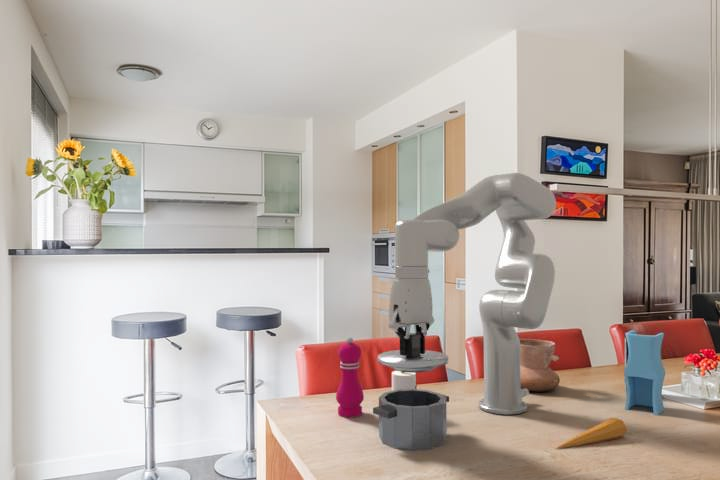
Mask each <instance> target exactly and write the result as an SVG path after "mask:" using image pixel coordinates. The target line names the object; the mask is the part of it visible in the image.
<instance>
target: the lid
mask: <svg viewBox="0 0 720 480" xmlns="http://www.w3.org/2000/svg"><path fill="white" fill-rule="evenodd" d="M409 338H410V339H411V345H412V355H411V356H410V357H407V356H403V355H400V349H398V350H397V349H396V350H395V349H394V350H389V351H384V352H381V353H379V354H378V355H377V363H379V364H380V365H383V366H384V367H385V366H386V367H389V368H391V370H393V371H401V372H411V373H416V374H417V373H427V372H431V371H434V370H435V369H436V368H439V367H442V366H443V367H444V366H446V365H447V364H449V355H448V354H445V353H443V352H440V351H434V350H427V349H425V354H421V334H418V333H415V332H413V333H412V332H410V336H409Z"/></svg>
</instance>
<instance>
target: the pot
mask: <svg viewBox="0 0 720 480" xmlns="http://www.w3.org/2000/svg"><path fill="white" fill-rule="evenodd" d="M449 402H450V396H449V395H445V394H442V393H439V392H436V391H432V390H426V389H417V388H416V389H403V390H394V391H392V390H390V391H386V392H383V393H382V394H381V395H379V396H378V406H375V407H372V413H373V414H374V415H377V416H378V437H379V439H380V440H381V442H382V444H384V445H387V446H389V447H392V448H394V449H399V450H407V451H421V450H422V451H425V450H432V449H435V448H437V447H441V446H443V445H444V444H445V442H446V441H447V438H448V437H447V435H448V434H447V433H448V431H447V427H448V425H447V403H449Z"/></svg>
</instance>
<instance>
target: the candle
mask: <svg viewBox="0 0 720 480" xmlns="http://www.w3.org/2000/svg"><path fill="white" fill-rule="evenodd" d="M416 374H417V373H411V372H401V371H396V370H393V371H391V391H394V390H403V389H417V388H418V387H417V386H418V384H416V383H417V381H416V380H417V379H416V378H417V376H416Z"/></svg>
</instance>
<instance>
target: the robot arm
mask: <svg viewBox="0 0 720 480" xmlns="http://www.w3.org/2000/svg"><path fill="white" fill-rule="evenodd" d="M556 201H557V200H556V197H555V195H554V193H553V191H551V189H550V188H549V187H547V186H546V185H544V184H543V183H540V182H539V181H538V180H535V179H534V178H533V177H531V176H528V175H526V174H523V173H519V172H512V173H511V172H510V173H505V174H503V173H502V174H495V175H490V176H487V177H485V178H483V179H482V180H480V181H478V182H477V183H476V184H474V185H472V186H471V187H469V189H467V190H466V191H464V192H463V193H461V194H460V195H459V196H456V197H453V198H451V199H448V200H447V201H445V202H442V203H441V204H438V205H435V206H433V207H431V208H429V209H427V210H424V211H423V212H421V213H420V214H418V215H416V217H414V218H412V219H404V220H399V221H397V222H396V223H395V224H394V225H395V226H394V252H395V253H394V256H395V257H394V261H395V262H394V265H395V267H394V268H395V269H394V271H395V272H394V273H395V274H394V277H395V279H394V280H392V283H391V288H390V294H389V295H390V296H389V304H388V305H389V308H388V309H389V310H388V313H389V314H388V319H389V320H388V321H389V323H388V328H389V329H391V330H392V331H394V332H395V334H396V337H397V338H399V350H400V355H403V356H407V357H410V356H411V355H412V345H411V339H410V338H409V336H410V333H411V325H413V326H414V333H418V334H421V354H425V350H426V336H427V335H428V330H429V329H430V327H431V326H432V325H433V324H434V322H435V319H434V316H433V295H432V294H433V293H432V287H431V283H430V282H431V281H430V279H429V273H430V269H429V252H432V253H433V252H439V253H440V252H448V251H450V250H452V249H454V247H456V246H457V245H458V243H459V240H460V231H459V230H463V229H467V228H470V227H473V226H476V225H478V224H480V223H481V222H482V221H484V220H485V219H486V218H487V217H488V216H490V215H491V214H492V213H494V212H496V215H497V218H498V220H499V222H500V225H501V227H502V232H503V241H502V244H501V247H500V251H499V256H498V257H497V258H498V259H497V263H496V267H495V271H494V279H495V281H496V283H497V284H498V285H500V286H501V287H503V288H510V289H511V290H509V289H491V290H488V291H487V292H485V293H484V294H483V295H482V296H481V297H480V300H479V304H478V305H479V306H478V307H479V315H480V319H481V325H482V334H483V391H484V392H483V397H484V398H482V399H479V401H478V408H479V409H480V410H482V411H484V412H487V413H490V414H491V413H492V414H495V415H496V414H497V415H519V414H523V413H525V412H526V411H527V410H528V405H527V403H526V402H524V401H523V398H524V397H526V396H529V394H530V391H529V390H528V389H526V388H525V389H521V374H520V340H519V339H520V337H519V335H518V333H517V331H516V329H517V328H519V329H525V330H535V329H537V328H539V327H541V326H542V324H543V323H544V321H545V318H546V314H547V311H548V307H549V303H550V299H551V296H552V291H553V288H554V284H555V278H556V274H555V273H556V270H555V265H554V263H553V261H552V259H551V258H550V257H549V256H547V255H546V254H542V253H534V249H535V244H536V242H535V241H536V240H535V235H534V233H533V231H532V230H531V228H530V227H529V226H528V224H527V222H526V221H529V220H530V221H531V220H533V221H534V220H545V219H548V218H549V217H551V216H552V215H553V214H554V213H555V211H556V207H557V202H556ZM513 289H521V290H522V289H523V290H524V291H521V290H520V291H519V290H513ZM515 328H516V329H515Z"/></svg>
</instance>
